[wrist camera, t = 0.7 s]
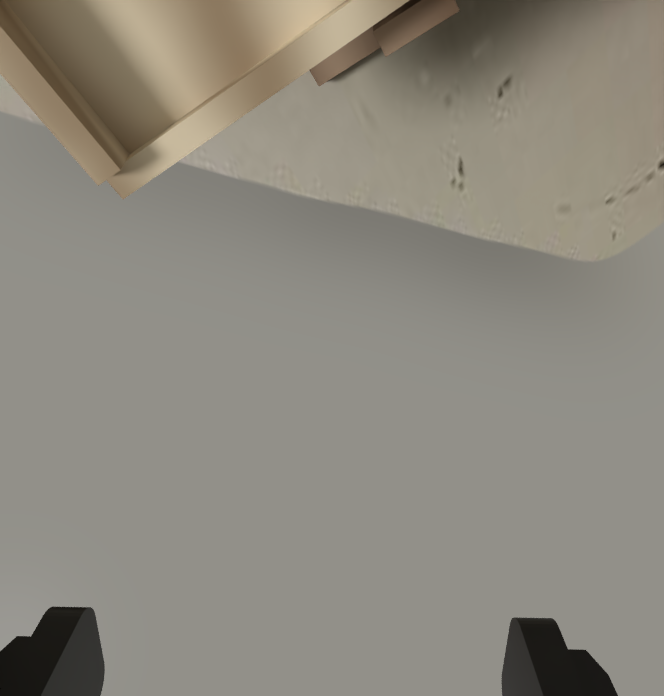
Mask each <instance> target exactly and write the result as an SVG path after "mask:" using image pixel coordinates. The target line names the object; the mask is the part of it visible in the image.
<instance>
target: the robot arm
mask: <svg viewBox="0 0 664 696" xmlns="http://www.w3.org/2000/svg"><path fill="white" fill-rule="evenodd" d="M103 681H104V660H103V654H102V648H101V644H100V639H99V632H98V628H97V622H96V617H95V613H94V610H93V609H92V608H91V607H87V608H86V607H51V608H49V609H48V610H47V611H46V612H45V614H44V615H43V617H42V619H41V620H40V622H39V624H38V626H37V627H36V629H35V631H34V633H33V634H32V636H31V637H27V636H17V637H16V638H15V639H14V640H12V641H11V642H10V643H9V644H8V645H7V646H6V647H5V648H4V649H3V650H1V651H0V696H100V695H101V691H102V686H103ZM502 695H503V696H618V695H617V693H616V691H615V688H614V687H613V684H612V682H611V680H610V678H609V676H608V674H607V673H606V672H605V671H604V670H603V669H602V667H601V666H600V665H599V664H598V663H597V662H596V661H595V660H594V659H593V658H592V656H591V655H590V654H589V653H588V652H587V651H586V650H568V649H567V646H566V644H565V642H564V639H563V637H562V634H561V632H560V629H559V627H558V625H557V623H556V621H555V620H554V619H552V618H512V620H511V623H510V628H509V634H508V640H507V646H506V653H505V658H504V665H503V671H502Z"/></svg>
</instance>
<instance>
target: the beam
mask: <svg viewBox="0 0 664 696" xmlns="http://www.w3.org/2000/svg"><path fill="white" fill-rule="evenodd" d="M408 1H409V0H0V74H1V75H2V76H3V77H4V78H5V80H6V81H7V82H8V83H9V84H10V85H11V86H12V88H13V89H14V90H15V91H16V92H17V93H18V94H19V96H20V97H21V98H22V99H23V100H24V101H25V102H26V104H27V105H28V106H29V107H30V108H31V109H32V110H33V112H34V113H35V114H36V115H37V116H38V117H39V119H40V120H41V121H42V122H43V123H44V124H45V125H46V127H47V128H48V129H49V130H50V131H51V132H52V133H53V134H54V136H55V137H56V138H57V139H58V140H59V141H60V142H61V144H62V145H63V146H64V147H65V148H66V149H67V151H68V152H69V153H70V154H71V155H72V156H73V157H74V159H75V160H76V161H77V162H78V163H79V164H80V165H81V167H82V168H83V169H84V170H85V171H86V172H87V173H88V175H89V176H90V177H91V178H92V179H93V180H94V182H95V183H96V184H97V185H98V186H99V185H100V184H101V183H103V182H104V181H106V180H107V181H108V182H109V184H110V185H111V186H112V187H113V188H114V189H115V191H116V192H117V193H118V194H119V195H120V197H121V198H122V199H124V198H126V197H127V196H129V195H130V194H131V193H133V192H134V191H136V190H137V189H139V188H140V187H142V186H143V185H144V184H146V183H147V182H149V181H150V180H152V179H153V178H155V177H156V176H157V175H159V174H160V173H162V172H163V171H164V170H166V169H168V168H169V167H170V166H172V165H173V164H175V163H176V162H178V161H179V160H180V159H182V158H183V157H185V156H186V155H188V154H189V153H191V152H192V151H193V150H195V149H196V148H198V147H199V146H201V145H202V144H203V143H205V142H206V141H208V140H209V139H211V138H212V137H214V136H215V135H216V134H218V133H219V132H221V131H222V130H224V129H225V128H226V127H228V126H229V125H231V124H232V123H234V122H235V121H237V120H238V119H239V118H241V117H242V116H244V115H245V114H247V113H248V112H250V111H251V110H252V109H254V108H255V107H257V106H258V105H260V104H261V103H262V102H264V101H265V100H267V99H268V98H270V97H271V96H273V95H274V94H275V93H277V92H278V91H280V90H281V89H283V88H284V87H285V86H287V85H288V84H290V83H291V82H293V81H294V80H296V79H297V78H298V77H300V76H301V75H303V74H304V73H306V72H307V71H308V70H310V69H311V68H313V67H314V66H316V65H317V64H319V63H320V62H321V61H323V60H324V59H326V58H327V57H329V56H330V55H331V54H333V53H334V52H336V51H337V50H339V49H340V48H342V47H343V46H344V45H346V44H347V43H349V42H350V41H352V40H353V39H355V38H356V37H357V36H359V35H360V34H362V33H363V32H365V31H366V30H367V29H369V28H370V27H372V26H373V25H375V24H376V23H378V22H379V21H380V20H382V19H383V18H385V17H386V16H388V15H389V14H390V13H392V12H393V11H395V10H396V9H398V8H399V7H401V6H402V5H403V4H405V3H406V2H408Z"/></svg>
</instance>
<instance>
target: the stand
mask: <svg viewBox="0 0 664 696" xmlns="http://www.w3.org/2000/svg"><path fill="white" fill-rule="evenodd" d="M458 11H460V10H459V8H458V6H457V3H456V1H455V0H409V1H408V2H406V3H405V4H403V5H402V6H401V7H399V8H398V9H396V10H395V11H393V12H392V13H390V14H389V15H388V16H386V17H385V18H383V19H382V20H380V21H379V22H378V23H376V24H375V25H373V26H372V27H370V28H369V29H367V30H366V31H365V32H363V33H362V34H360V35H359V36H357V37H356V38H355V39H353V40H352V41H350V42H349V43H347V44H346V45H344V46H343V47H342V48H340V49H339V50H337V51H336V52H334V53H333V54H331V55H330V56H329V57H327V58H326V59H324V60H323V61H321V62H320V63H319V64H317V65H316V66H314V67H313V68H311V69H310V72H311V74H312V75H313V77H314V79H315V80H316V82H317V84H318V86H320V85H322V84H324V83H325V82H327V81H328V80H330V79H332V78H333V77H335V76H336V75H338V74H339V73H341V72H343V71H344V70H346V69H347V68H349V67H350V66H352V65H354V64H355V63H357V62H358V61H360V60H362V59H363V58H365V57H366V56H368V55H369V54H371V53H373V52H374V51H376V50H377V49H379V48H380V47H381V49H382V51H383V53H384V55H385V56H388V55H390V54H391V53H393V52H394V51H396V50H398V49H399V48H401V47H402V46H404V45H406V44H407V43H409V42H410V41H412V40H414V39H415V38H417V37H418V36H420V35H422V34H423V33H425V32H426V31H428V30H430V29H431V28H433V27H434V26H436V25H438V24H439V23H441V22H442V21H444V20H446V19H447V18H449V17H450V16H452V15H454V14H455V13H457V12H458Z"/></svg>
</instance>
